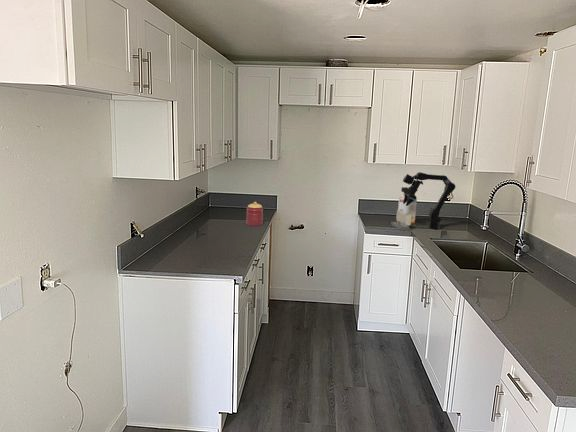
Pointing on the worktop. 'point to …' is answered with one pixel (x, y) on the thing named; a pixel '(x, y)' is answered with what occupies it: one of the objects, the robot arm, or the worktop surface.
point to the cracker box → (408, 208)
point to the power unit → (400, 226)
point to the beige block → (403, 217)
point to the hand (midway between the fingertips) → (404, 204)
